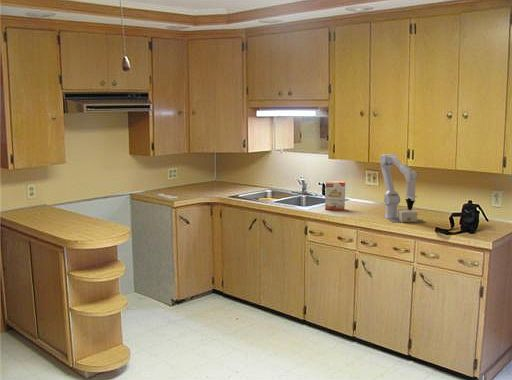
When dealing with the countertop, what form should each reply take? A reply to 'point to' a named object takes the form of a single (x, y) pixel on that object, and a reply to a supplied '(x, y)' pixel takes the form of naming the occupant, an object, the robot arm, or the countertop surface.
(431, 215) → the countertop surface
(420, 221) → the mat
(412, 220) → the light bulb box
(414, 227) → the countertop surface
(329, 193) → the cracker box
